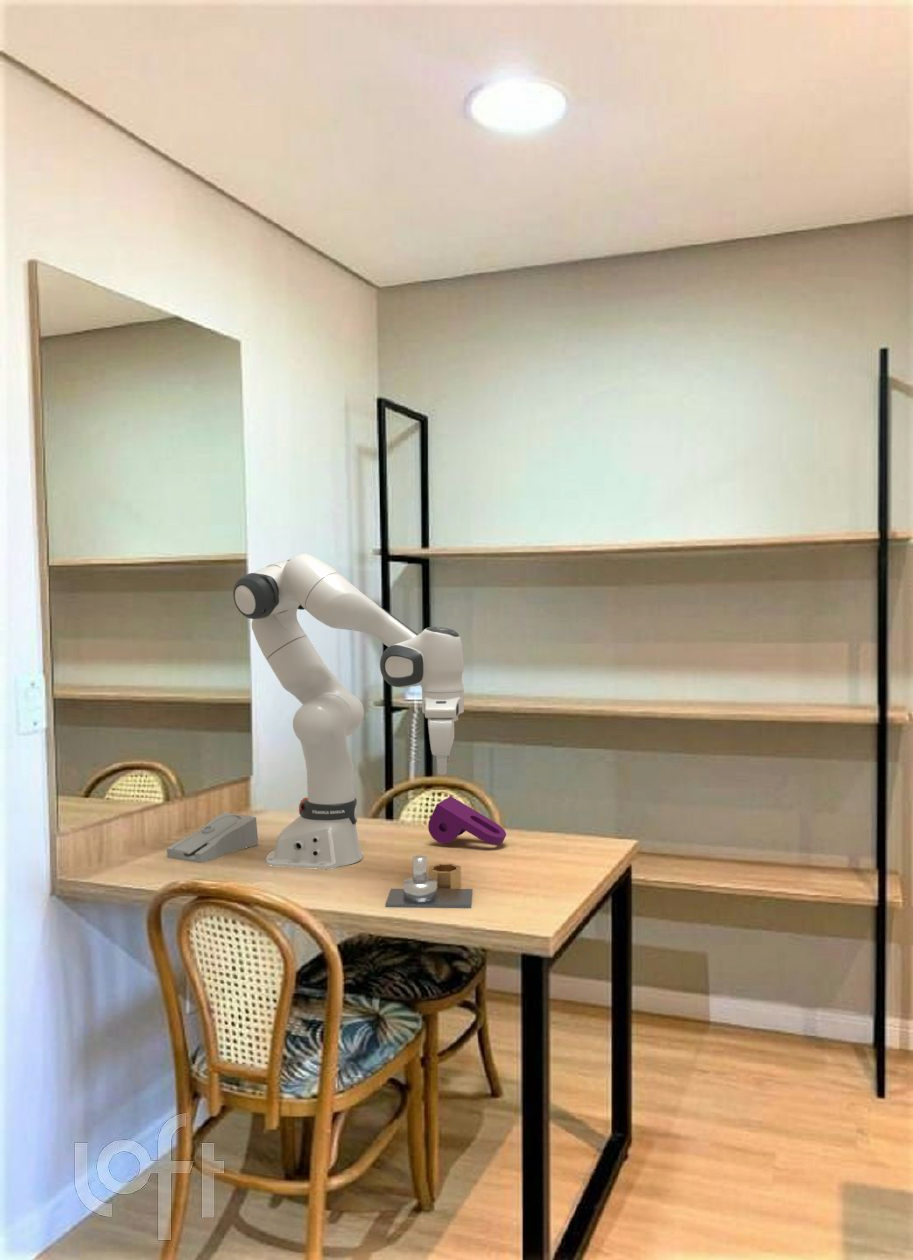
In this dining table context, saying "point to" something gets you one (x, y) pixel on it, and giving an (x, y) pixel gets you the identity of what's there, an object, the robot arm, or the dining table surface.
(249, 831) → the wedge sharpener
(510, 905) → the dining table surface
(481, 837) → the mounting bracket
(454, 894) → the base with metal peg
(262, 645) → the robot arm
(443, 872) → the ring
